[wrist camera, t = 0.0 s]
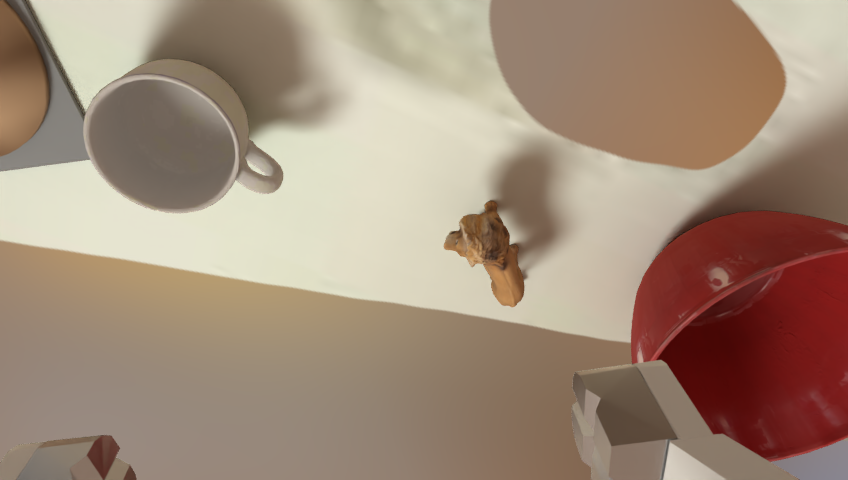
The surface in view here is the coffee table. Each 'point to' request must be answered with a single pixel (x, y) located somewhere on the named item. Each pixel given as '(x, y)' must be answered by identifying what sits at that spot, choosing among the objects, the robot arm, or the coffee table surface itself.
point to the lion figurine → (490, 252)
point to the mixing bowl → (754, 327)
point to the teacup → (174, 138)
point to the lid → (20, 82)
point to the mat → (50, 114)
